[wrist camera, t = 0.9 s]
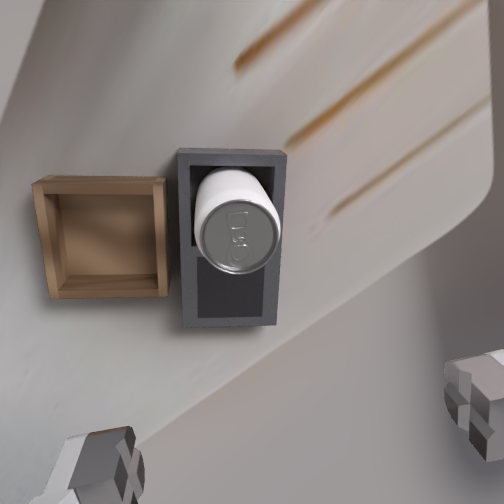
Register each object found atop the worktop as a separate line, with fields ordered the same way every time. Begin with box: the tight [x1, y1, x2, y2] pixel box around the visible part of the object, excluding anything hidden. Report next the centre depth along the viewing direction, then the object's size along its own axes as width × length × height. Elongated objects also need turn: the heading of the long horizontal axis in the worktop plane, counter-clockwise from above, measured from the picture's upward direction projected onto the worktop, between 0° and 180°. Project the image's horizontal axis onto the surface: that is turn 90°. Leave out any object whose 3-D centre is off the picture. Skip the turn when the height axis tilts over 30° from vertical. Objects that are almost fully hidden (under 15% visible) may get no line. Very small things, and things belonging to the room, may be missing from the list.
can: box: [194, 166, 280, 275], centre depth 34 cm, size 6×6×12 cm
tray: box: [177, 148, 287, 328], centre depth 39 cm, size 17×9×4 cm, turn 178°
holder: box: [31, 175, 171, 299], centre depth 38 cm, size 11×11×4 cm
